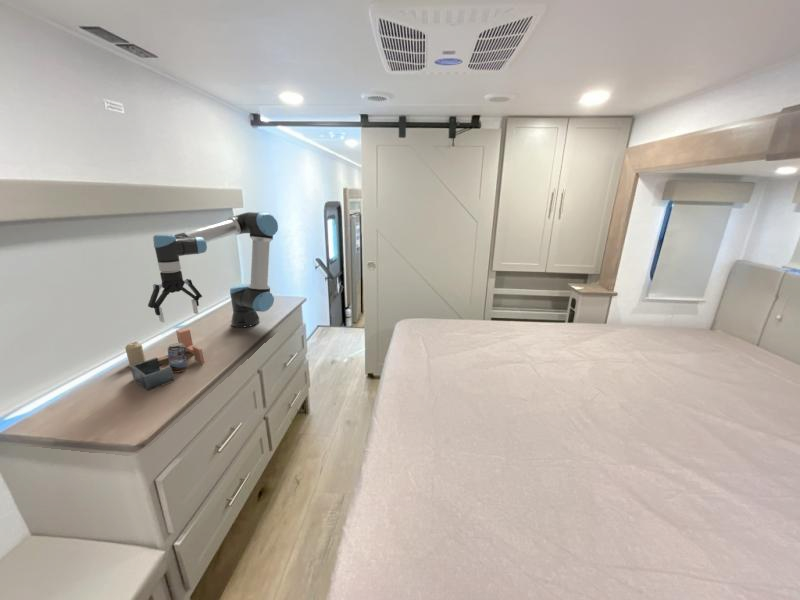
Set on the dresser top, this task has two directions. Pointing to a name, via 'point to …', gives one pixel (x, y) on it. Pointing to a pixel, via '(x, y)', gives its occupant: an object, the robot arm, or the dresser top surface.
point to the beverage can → (177, 357)
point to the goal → (151, 374)
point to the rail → (165, 359)
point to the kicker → (189, 344)
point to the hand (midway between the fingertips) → (179, 317)
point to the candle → (135, 353)
